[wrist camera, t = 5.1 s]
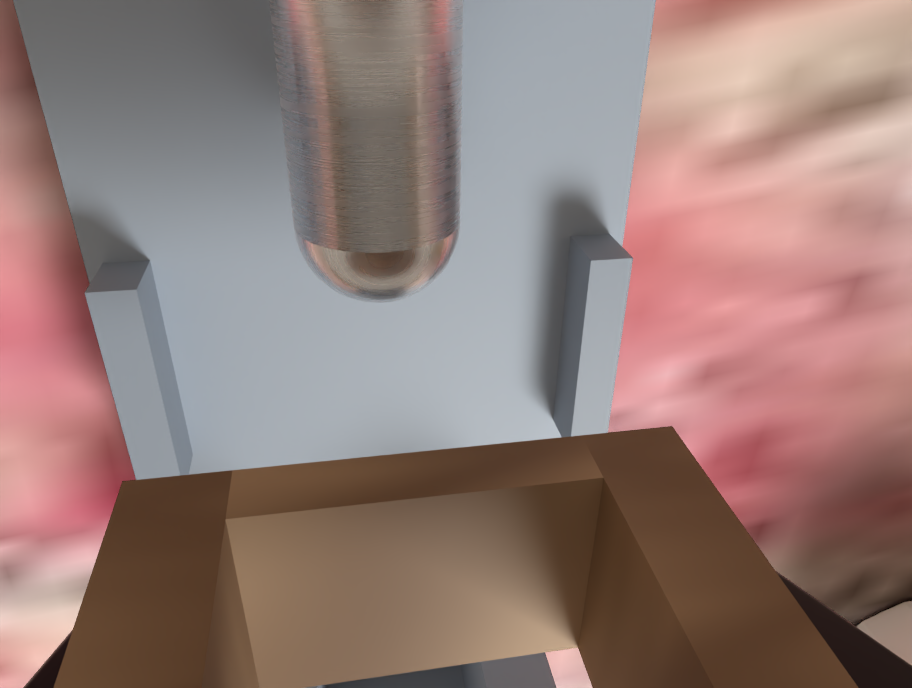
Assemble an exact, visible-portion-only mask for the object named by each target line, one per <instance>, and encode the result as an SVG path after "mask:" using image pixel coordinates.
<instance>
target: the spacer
mask: <svg viewBox="0 0 912 688" xmlns="http://www.w3.org/2000/svg"><path fill="white" fill-rule="evenodd" d="M571 648H578V649H579V651H580V654H581V657H582V659H583V662H584V665H585V668H586V670H587V673H588V676H589V678H590V681H591V684H592V687H593V688H858V686H857V685H856V683H855V682H854V681H853V679H852V678H851V676H850V675H849V674H848V672H847V671H846V669H845V668H844V667H843V665H842V664H841V662H840V661H839V660H838V658H837V657H836V655H835V654H834V653H833V651H832V650H831V648H830V647H829V646H828V644H827V643H826V641H825V640H824V639H823V637H822V636H821V634H820V633H819V632H818V630H817V629H816V627H815V626H814V625H813V623H812V622H811V620H810V619H809V618H808V616H807V615H806V613H805V612H804V611H803V609H802V608H801V606H800V605H799V604H798V602H797V601H796V599H795V598H794V597H793V595H792V594H791V592H790V591H789V590H788V588H787V587H786V585H785V584H784V583H783V581H782V580H781V578H780V577H779V576H778V574H777V573H776V571H775V570H774V569H773V567H772V566H771V564H770V563H769V562H768V560H767V559H766V557H765V556H764V554H763V553H762V552H761V550H760V549H759V547H758V546H757V545H756V543H755V542H754V540H753V539H752V538H751V536H750V535H749V533H748V532H747V531H746V529H745V528H744V526H743V525H742V524H741V522H740V521H739V519H738V518H737V517H736V515H735V514H734V512H733V511H732V510H731V508H730V507H729V505H728V504H727V503H726V501H725V500H724V498H723V497H722V496H721V494H720V493H719V491H718V490H717V489H716V487H715V486H714V484H713V483H712V482H711V480H710V479H709V477H708V476H707V475H706V473H705V472H704V470H703V469H702V468H701V466H700V465H699V463H698V462H697V461H696V459H695V458H694V456H693V455H692V454H691V452H690V451H689V449H688V448H687V447H686V445H685V444H684V442H683V441H682V440H681V438H680V437H679V435H678V434H677V433H676V431H675V430H674V428H673V427H672V426H670V427H660V428H650V429H640V430H630V431H620V432H610V433H600V434H590V435H580V436H570V437H560V438H550V439H540V440H530V441H520V442H510V443H500V444H490V445H480V446H470V447H460V448H450V449H440V450H430V451H420V452H410V453H400V454H390V455H380V456H370V457H360V458H350V459H340V460H330V461H320V462H310V463H300V464H290V465H280V466H270V467H260V468H250V469H240V470H230V471H220V472H210V473H200V474H190V475H180V476H170V477H160V478H150V479H140V480H130V481H122V484H121V487H120V490H119V493H118V496H117V499H116V502H115V505H114V508H113V511H112V514H111V517H110V520H109V523H108V526H107V529H106V532H105V535H104V538H103V541H102V544H101V547H100V550H99V553H98V556H97V559H96V562H95V565H94V568H93V571H92V574H91V577H90V580H89V583H88V586H87V589H86V592H85V595H84V598H83V601H82V604H81V607H80V610H79V613H78V616H77V619H76V622H75V625H74V628H73V631H72V634H71V637H70V640H69V643H68V646H67V649H66V652H65V655H64V658H63V661H62V664H61V667H60V670H59V673H58V676H57V679H56V682H55V685H54V688H306V687H313V686H320V685H326V684H333V683H340V682H347V681H354V680H360V679H367V678H374V677H381V676H388V675H394V674H401V673H408V672H415V671H422V670H428V669H435V668H442V667H449V666H456V665H462V664H469V663H476V662H483V661H490V660H496V659H503V658H510V657H517V656H524V655H530V654H537V653H544V652H551V651H558V650H564V649H571Z"/></svg>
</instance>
